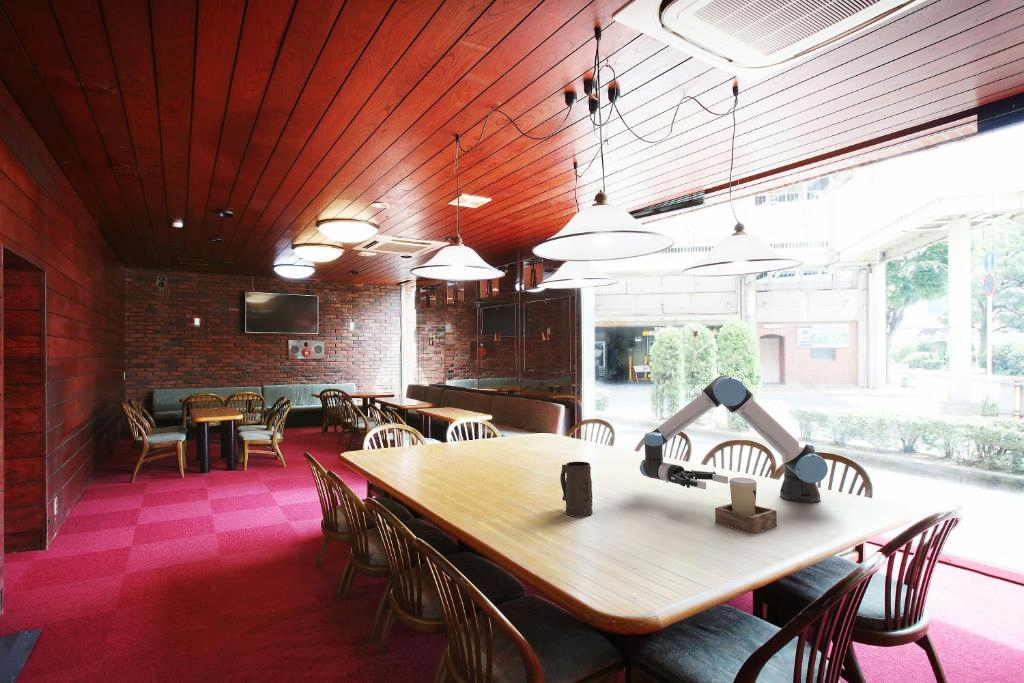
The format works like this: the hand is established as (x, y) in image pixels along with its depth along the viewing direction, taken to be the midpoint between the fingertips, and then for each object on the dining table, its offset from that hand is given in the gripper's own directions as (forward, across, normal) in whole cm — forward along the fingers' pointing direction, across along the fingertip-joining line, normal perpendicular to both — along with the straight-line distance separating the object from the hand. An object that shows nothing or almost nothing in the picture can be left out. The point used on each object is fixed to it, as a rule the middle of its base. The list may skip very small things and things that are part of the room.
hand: (716, 482), depth 202 cm
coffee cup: (+10, -2, -10) cm, 14 cm away
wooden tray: (+12, 0, -13) cm, 17 cm away
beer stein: (-36, +41, -12) cm, 56 cm away
